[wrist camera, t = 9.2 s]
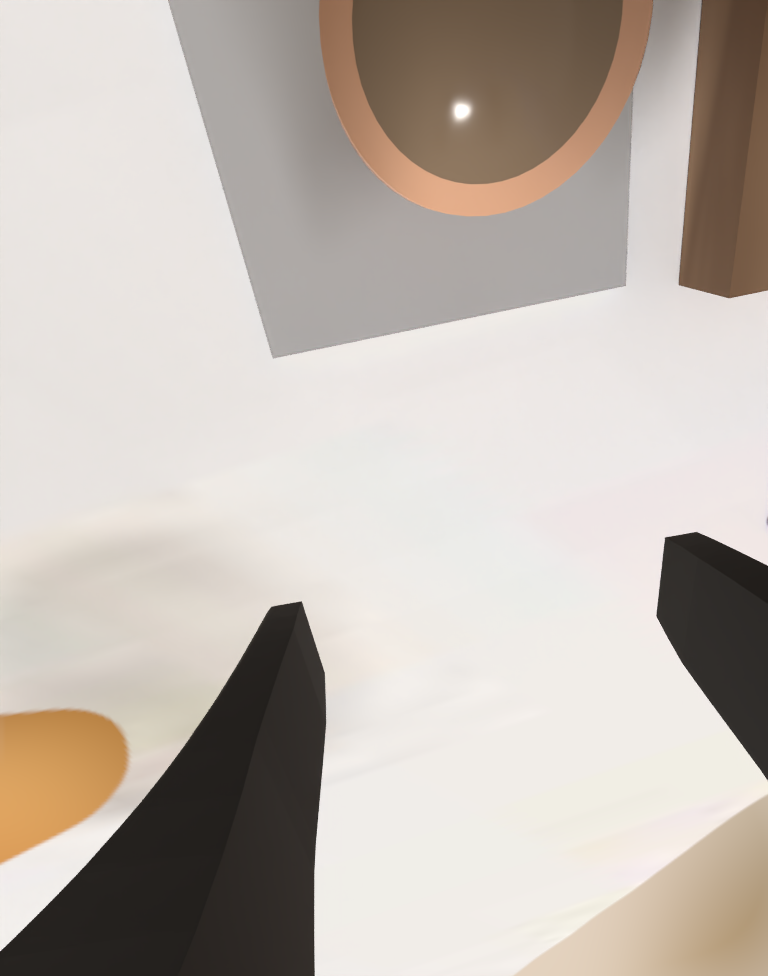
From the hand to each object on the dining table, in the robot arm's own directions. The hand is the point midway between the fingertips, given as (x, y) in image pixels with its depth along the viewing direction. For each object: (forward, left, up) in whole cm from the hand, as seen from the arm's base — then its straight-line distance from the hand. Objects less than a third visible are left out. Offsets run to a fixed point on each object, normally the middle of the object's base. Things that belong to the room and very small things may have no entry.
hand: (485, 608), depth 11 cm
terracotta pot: (+3, -9, -9) cm, 13 cm away
